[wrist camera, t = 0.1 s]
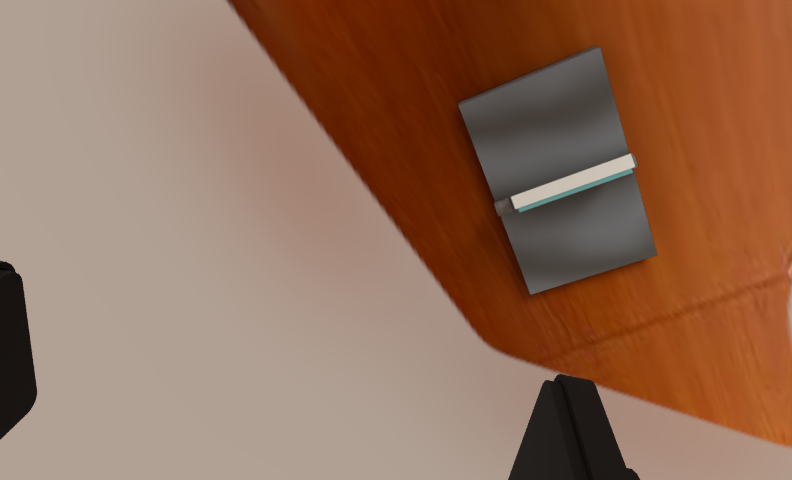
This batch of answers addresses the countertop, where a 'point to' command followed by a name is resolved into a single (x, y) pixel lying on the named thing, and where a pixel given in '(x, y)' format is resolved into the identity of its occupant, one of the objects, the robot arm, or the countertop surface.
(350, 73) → the countertop surface
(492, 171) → the board
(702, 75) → the countertop surface
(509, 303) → the countertop surface
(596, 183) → the tile
